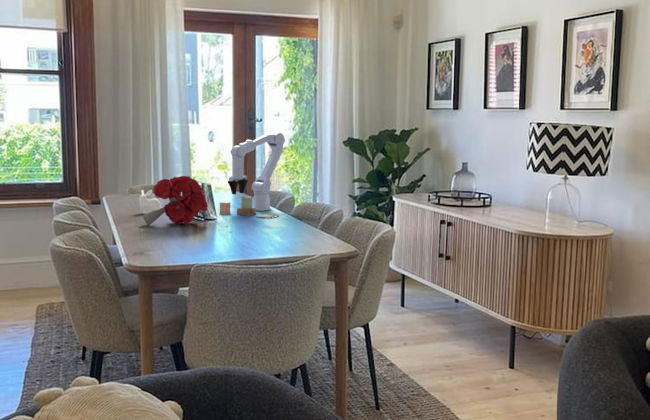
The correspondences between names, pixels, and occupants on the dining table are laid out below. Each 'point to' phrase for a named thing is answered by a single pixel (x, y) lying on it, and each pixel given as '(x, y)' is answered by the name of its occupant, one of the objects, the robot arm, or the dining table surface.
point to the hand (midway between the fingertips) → (237, 193)
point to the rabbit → (149, 202)
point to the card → (266, 216)
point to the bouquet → (178, 200)
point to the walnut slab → (246, 211)
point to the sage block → (246, 202)
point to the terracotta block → (225, 207)
